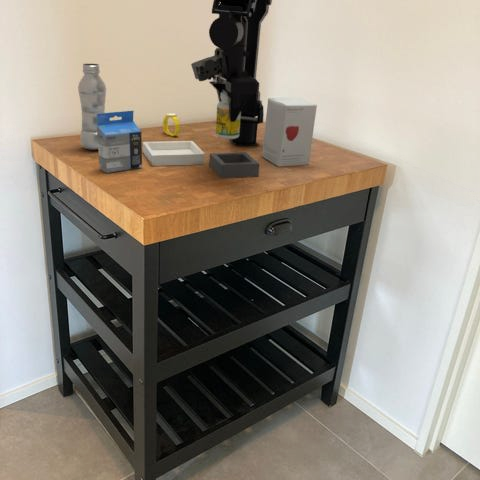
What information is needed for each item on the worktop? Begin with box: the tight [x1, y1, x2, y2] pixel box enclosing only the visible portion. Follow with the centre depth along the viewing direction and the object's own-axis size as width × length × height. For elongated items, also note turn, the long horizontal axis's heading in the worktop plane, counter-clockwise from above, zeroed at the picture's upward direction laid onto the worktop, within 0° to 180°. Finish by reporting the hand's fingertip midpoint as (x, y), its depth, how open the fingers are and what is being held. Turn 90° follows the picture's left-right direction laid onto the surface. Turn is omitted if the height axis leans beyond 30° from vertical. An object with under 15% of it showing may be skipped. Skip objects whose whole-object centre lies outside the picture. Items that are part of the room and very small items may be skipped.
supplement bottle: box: [215, 92, 241, 140], centre depth 117 cm, size 5×5×10 cm
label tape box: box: [97, 110, 143, 174], centre depth 114 cm, size 9×4×12 cm, turn 129°
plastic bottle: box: [77, 62, 107, 151], centre depth 125 cm, size 6×7×20 cm
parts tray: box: [142, 140, 206, 167], centre depth 126 cm, size 13×12×2 cm
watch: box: [162, 112, 181, 137], centre depth 145 cm, size 6×3×6 cm, turn 44°
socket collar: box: [208, 151, 260, 179], centre depth 121 cm, size 9×9×3 cm
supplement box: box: [261, 97, 318, 168], centre depth 128 cm, size 9×9×15 cm
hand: (228, 118), depth 117 cm, fingers closed on supplement bottle, 5 cm apart
